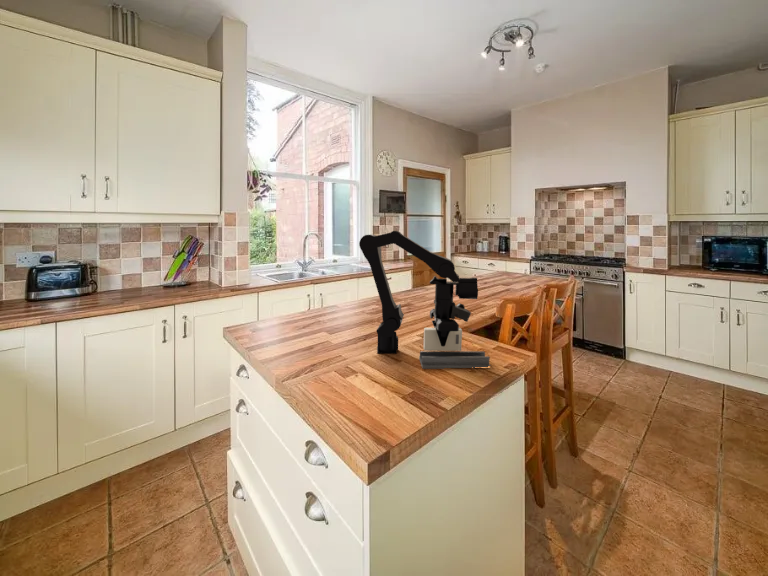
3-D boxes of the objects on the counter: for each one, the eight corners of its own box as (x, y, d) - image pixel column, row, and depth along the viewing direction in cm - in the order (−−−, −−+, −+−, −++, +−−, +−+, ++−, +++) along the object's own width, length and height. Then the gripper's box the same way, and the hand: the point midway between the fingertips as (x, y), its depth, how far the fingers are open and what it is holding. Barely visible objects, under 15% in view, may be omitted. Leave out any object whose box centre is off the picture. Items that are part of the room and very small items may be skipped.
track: (422, 368, 104) (422, 358, 104) (419, 358, 112) (419, 349, 112) (490, 368, 104) (491, 359, 104) (482, 359, 112) (483, 349, 112)
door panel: (424, 351, 115) (425, 330, 114) (423, 348, 118) (424, 327, 117) (461, 351, 115) (462, 330, 114) (459, 348, 118) (460, 327, 117)
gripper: (477, 304, 105) (474, 354, 108) (462, 293, 123) (460, 336, 126) (439, 304, 105) (437, 354, 107) (430, 292, 123) (428, 336, 126)
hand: (442, 344), depth 117 cm, fingers closed on door panel, 2 cm apart
